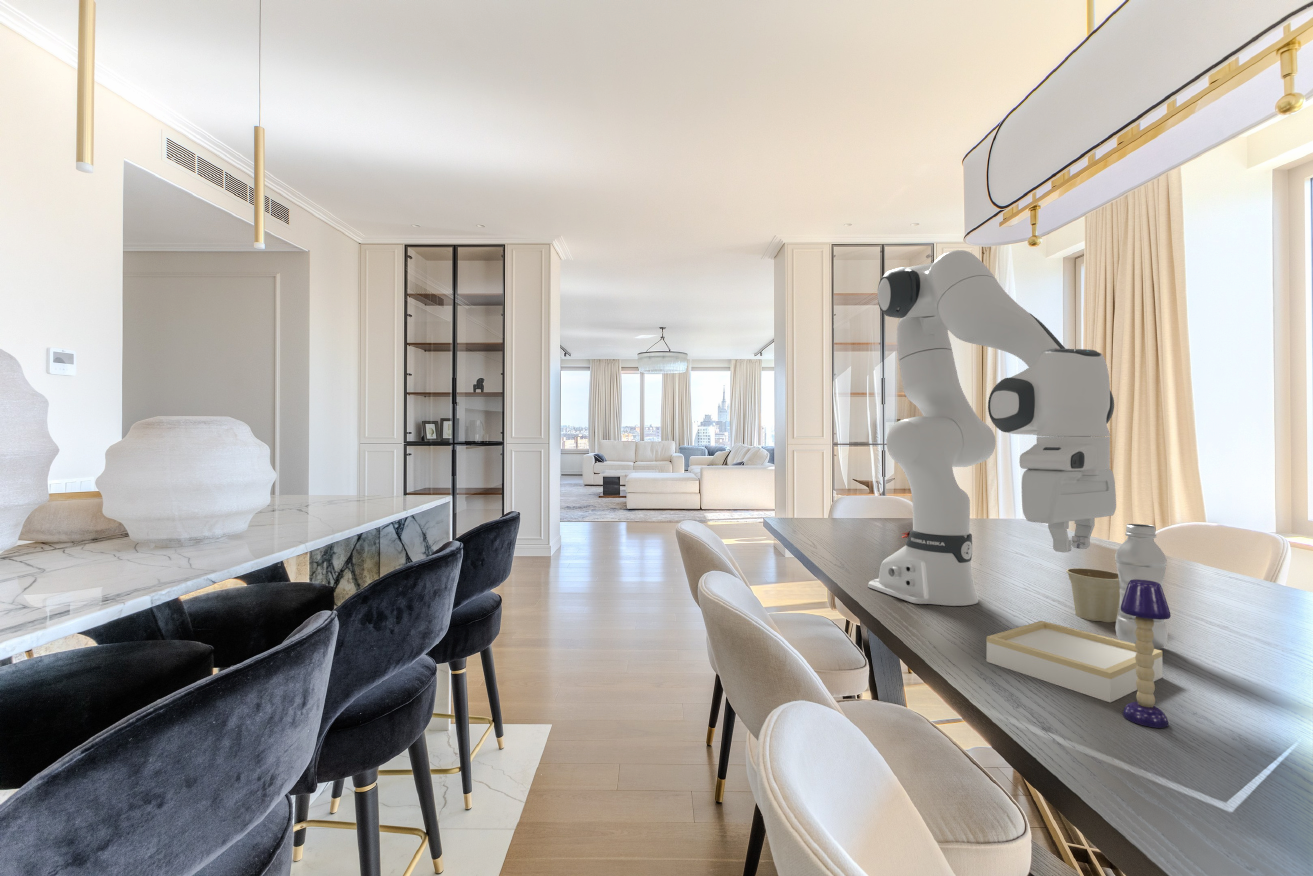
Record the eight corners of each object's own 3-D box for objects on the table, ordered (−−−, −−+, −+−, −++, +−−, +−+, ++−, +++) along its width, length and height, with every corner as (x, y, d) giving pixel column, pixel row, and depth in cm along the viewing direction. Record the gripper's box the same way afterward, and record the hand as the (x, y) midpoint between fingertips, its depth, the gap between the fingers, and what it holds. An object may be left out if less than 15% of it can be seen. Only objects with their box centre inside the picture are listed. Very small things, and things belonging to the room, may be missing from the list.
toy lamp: (1111, 709, 73) (1111, 576, 73) (1151, 711, 73) (1151, 577, 73) (1139, 727, 68) (1139, 585, 68) (1182, 730, 68) (1182, 587, 68)
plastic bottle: (1178, 656, 91) (1178, 529, 91) (1128, 653, 92) (1129, 527, 93) (1152, 642, 97) (1152, 523, 98) (1106, 639, 99) (1106, 522, 99)
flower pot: (1131, 619, 110) (1131, 573, 110) (1123, 630, 104) (1124, 581, 104) (1071, 608, 117) (1071, 565, 117) (1061, 618, 111) (1061, 573, 111)
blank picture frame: (986, 661, 89) (986, 636, 89) (1041, 643, 97) (1041, 620, 97) (1110, 702, 75) (1110, 673, 75) (1162, 677, 83) (1162, 650, 83)
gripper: (1082, 455, 94) (1081, 540, 94) (1012, 456, 83) (1012, 552, 83) (1129, 456, 88) (1129, 547, 88) (1061, 457, 78) (1060, 560, 78)
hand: (1071, 550), depth 86 cm, fingers open, 4 cm apart
